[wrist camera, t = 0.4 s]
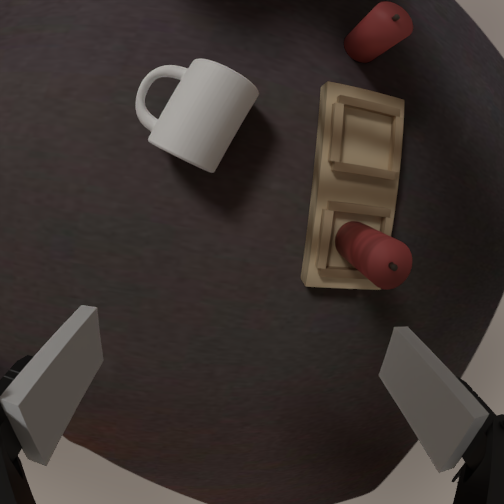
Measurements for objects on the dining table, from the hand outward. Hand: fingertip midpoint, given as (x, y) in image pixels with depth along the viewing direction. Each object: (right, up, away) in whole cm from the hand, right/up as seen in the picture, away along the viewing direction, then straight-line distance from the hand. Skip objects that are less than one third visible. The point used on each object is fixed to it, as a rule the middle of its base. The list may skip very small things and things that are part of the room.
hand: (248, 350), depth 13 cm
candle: (+14, +30, +20) cm, 39 cm away
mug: (-7, +20, +22) cm, 31 cm away
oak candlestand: (+12, +12, +25) cm, 30 cm away
